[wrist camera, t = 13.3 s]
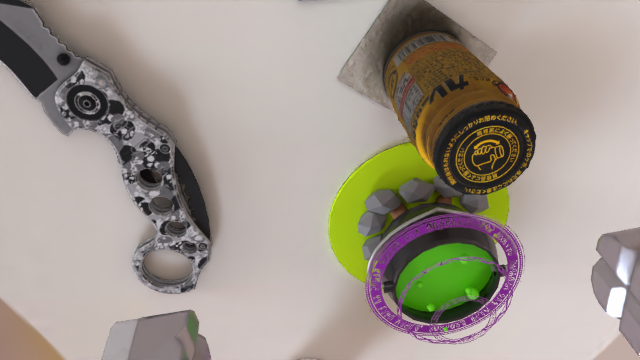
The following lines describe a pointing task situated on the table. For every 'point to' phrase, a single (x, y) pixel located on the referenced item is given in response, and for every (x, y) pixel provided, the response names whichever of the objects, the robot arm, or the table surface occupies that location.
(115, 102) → the knife
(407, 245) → the toy cauldron
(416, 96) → the condiment
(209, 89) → the table surface
